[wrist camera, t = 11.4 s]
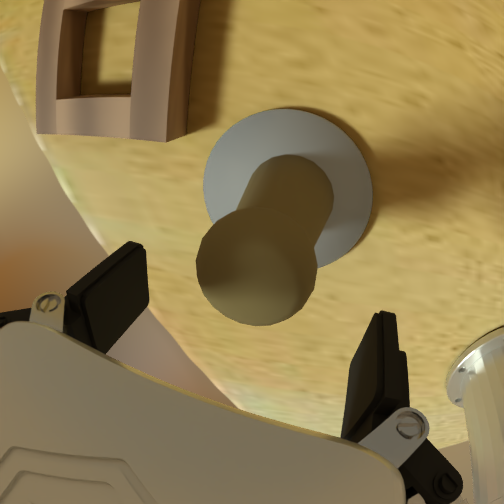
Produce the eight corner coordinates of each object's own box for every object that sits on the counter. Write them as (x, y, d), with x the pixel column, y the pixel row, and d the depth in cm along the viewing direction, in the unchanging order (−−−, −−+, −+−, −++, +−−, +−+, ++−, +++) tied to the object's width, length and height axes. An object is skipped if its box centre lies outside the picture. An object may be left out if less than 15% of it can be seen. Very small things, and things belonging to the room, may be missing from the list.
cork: (335, 237, 22) (323, 352, 13) (252, 237, 24) (192, 339, 14) (331, 152, 19) (322, 217, 10) (241, 157, 21) (158, 220, 12)
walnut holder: (206, -39, 15) (189, -52, 12) (185, 135, 22) (165, 142, 19) (69, -10, 17) (46, -13, 15) (59, 126, 24) (36, 133, 22)
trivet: (389, 131, 18) (391, 132, 18) (346, 281, 24) (346, 287, 24) (214, 97, 20) (210, 98, 19) (203, 246, 26) (199, 250, 26)
